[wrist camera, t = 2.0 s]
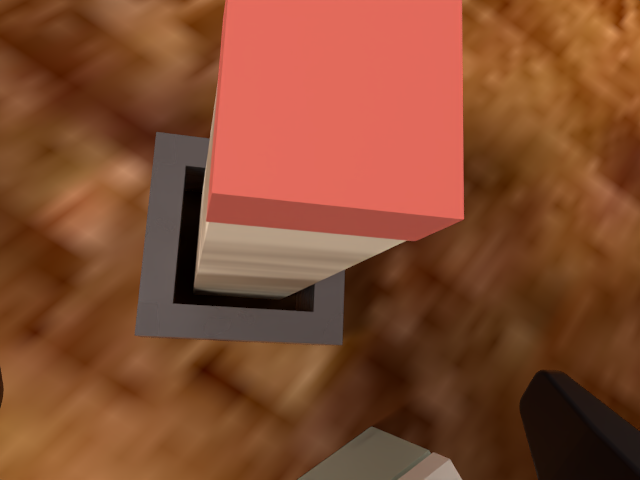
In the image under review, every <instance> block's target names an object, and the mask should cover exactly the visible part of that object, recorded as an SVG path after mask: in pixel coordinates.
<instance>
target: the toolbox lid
mask: <svg viewBox="0 0 640 480" xmlns="http://www.w3.org/2000/svg"><path fill="white" fill-rule="evenodd" d="M398 480H462V479H461V477H460V475H459V474H458V472H457V470H456V468H455V467H454V465H453V463H452V462H451V460H450V459H449V458H446V457H444V456H442V455H439V454H437V453H434V452H433V453H432V454H430V455H429V456H428V457H426V458H425V459H424V460H423V461H421V462H420V463H419V464H417V465H416V466H415V467H413V468H412V469H411V470H410V471H408V472H407V473H406V474H404V475H403V476H402V477H400V478H399V479H398Z"/></svg>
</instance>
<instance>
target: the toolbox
mask: <svg viewBox="0 0 640 480" xmlns="http://www.w3.org/2000/svg"><path fill="white" fill-rule="evenodd" d="M430 454H431V453H430V451H429V450H427V449H425V448H422V447H420V446H418V445H415V444H413V443H411V442H408V441H406V440H403V439H401V438H399V437H396V436H394V435H391V434H389V433H387V432H384V431H382V430H379V429H377V428H375V427H372V426H371V427H370V428H368V429H367V430H366V431H364V432H363V433H361V434H360V435H359V436H357V437H356V438H354V439H353V440H352V441H350V442H349V443H348V444H346V445H345V446H343V447H342V448H341V449H339V450H338V451H336V452H335V453H334V454H332V455H331V456H329V457H328V458H327V459H325V460H324V461H323V462H321V463H320V464H318V465H317V466H316V467H314V468H313V469H311V470H310V471H309V472H307V473H306V474H304V475H303V476H302V477H300V478H299V479H297V480H398V479H399V478H400V477H402V476H403V475H404V474H406V473H407V472H408V471H410V470H411V469H412V468H413V467H415V466H416V465H417V464H419V463H420V462H421V461H423V460H424V459H425V458H426V457H428V456H429V455H430Z"/></svg>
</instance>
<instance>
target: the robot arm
mask: <svg viewBox="0 0 640 480" xmlns="http://www.w3.org/2000/svg"><path fill="white" fill-rule="evenodd" d="M2 399H3V381H2V374H1V368H0V407H1V403H2ZM520 414H521V418H522V421H523V425H524V429H525V432H526V436H527V440H528V443H529V447H530V451H531V454H532V458H533V462H534V465H535V469H536V473H537V476H538V480H640V431H639V430H637V429H636V428H635V427H633V426H632V425H631V424H629V423H628V422H627V421H626V420H624V419H623V418H622V417H620V416H619V415H618V414H617V413H615V412H614V411H613V410H611V409H610V408H609V407H608V406H606V405H605V404H604V403H602V402H601V401H600V400H598V399H597V398H596V397H595V396H593V395H592V394H591V393H589V392H588V391H587V390H586V389H584V388H583V387H582V386H580V385H579V384H578V383H577V382H575V381H574V380H573V379H571V378H570V377H569V376H568V375H566V374H565V373H563V372H561V371H556V370H540V371H539V372H537V373H536V374H535V376H534V377H533V379H532V381H531V382H530V384H529V386H528V387H527V389H526V391H525V392H524V394H523V396H522V397H521V400H520Z"/></svg>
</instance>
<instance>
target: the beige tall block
mask: <svg viewBox="0 0 640 480" xmlns="http://www.w3.org/2000/svg"><path fill="white" fill-rule="evenodd" d="M462 220H464V172H463V66H462V0H226V2H225V9H224V17H223V28H222V39H221V51H220V63H219V75H218V84H217V91H216V99H215V106H214V113H213V120H212V127H211V134H210V141H209V148H208V155H207V163H206V170H205V177H204V184H203V191H202V198H201V205H200V215H199V226H198V238H197V249H196V261H195V272H194V283H193V294H199V295H215V296H231V297H246V298H262V299H277V300H281V299H283V298H285V297H287V296H289V295H291V294H293V293H296V292H298V291H300V290H302V289H304V288H306V287H308V286H311V285H313V284H315V283H317V282H319V281H321V280H323V279H326V278H328V277H330V276H332V275H334V274H336V273H338V272H341V271H343V270H345V269H347V268H349V267H351V266H353V265H356V264H358V263H360V262H362V261H364V260H366V259H368V258H371V257H373V256H375V255H377V254H379V253H381V252H383V251H386V250H388V249H390V248H392V247H394V246H396V245H398V244H401V243H403V242H405V241H417V240H419V239H422V238H424V237H426V236H428V235H430V234H433V233H435V232H437V231H439V230H442V229H444V228H446V227H448V226H451V225H453V224H455V223H457V222H460V221H462Z"/></svg>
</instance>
